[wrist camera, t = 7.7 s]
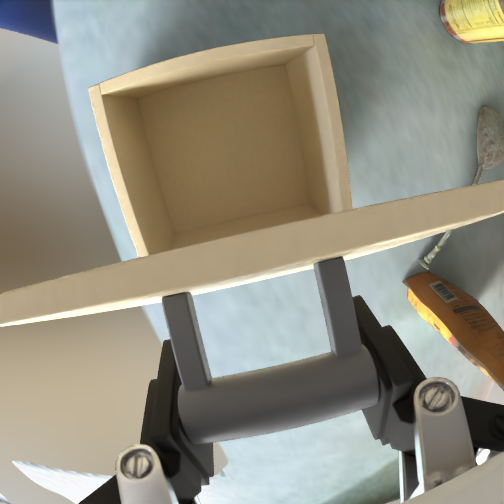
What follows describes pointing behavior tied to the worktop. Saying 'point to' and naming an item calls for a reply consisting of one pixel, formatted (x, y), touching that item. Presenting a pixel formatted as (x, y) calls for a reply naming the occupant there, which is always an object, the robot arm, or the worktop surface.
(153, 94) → the cream open box
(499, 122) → the soupspoon
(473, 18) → the sauce bottle
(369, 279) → the worktop surface
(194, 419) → the lid
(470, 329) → the pancake mix bag
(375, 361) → the robot arm
